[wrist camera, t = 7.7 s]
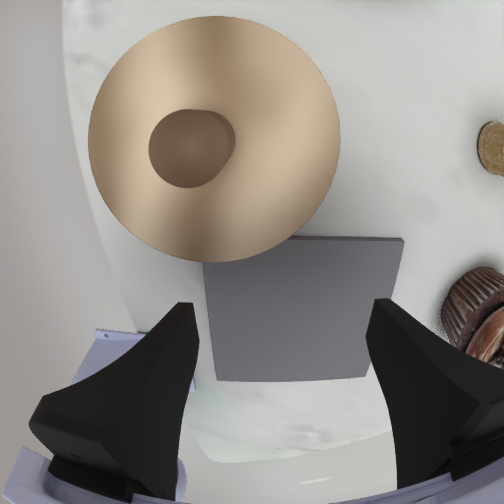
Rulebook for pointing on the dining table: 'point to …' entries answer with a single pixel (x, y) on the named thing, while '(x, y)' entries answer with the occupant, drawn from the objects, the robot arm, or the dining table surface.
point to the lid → (214, 139)
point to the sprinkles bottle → (492, 148)
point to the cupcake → (477, 315)
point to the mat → (298, 308)
